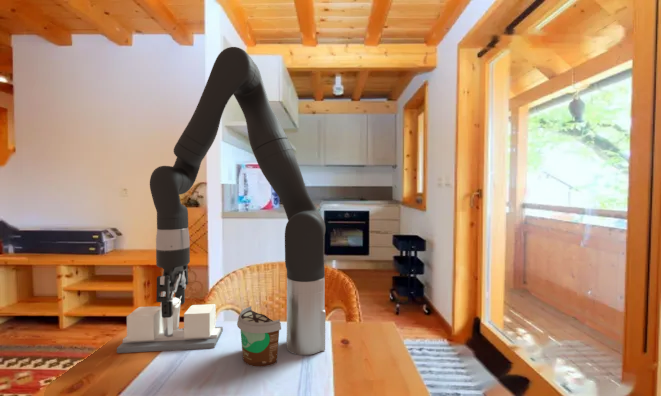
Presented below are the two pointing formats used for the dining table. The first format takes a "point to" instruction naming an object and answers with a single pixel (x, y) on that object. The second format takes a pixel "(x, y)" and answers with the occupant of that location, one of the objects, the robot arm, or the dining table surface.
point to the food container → (258, 338)
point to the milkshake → (172, 319)
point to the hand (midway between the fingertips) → (174, 310)
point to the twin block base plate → (195, 335)
